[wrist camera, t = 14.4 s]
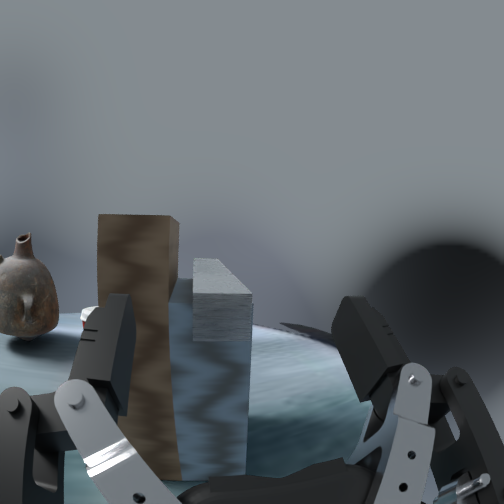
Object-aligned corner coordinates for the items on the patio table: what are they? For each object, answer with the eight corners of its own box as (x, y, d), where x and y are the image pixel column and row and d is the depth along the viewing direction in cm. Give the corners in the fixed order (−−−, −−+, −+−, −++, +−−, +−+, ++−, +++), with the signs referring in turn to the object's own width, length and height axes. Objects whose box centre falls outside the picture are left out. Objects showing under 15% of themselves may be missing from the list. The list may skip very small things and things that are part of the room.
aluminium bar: (192, 341, 17) (192, 292, 17) (193, 278, 42) (193, 258, 42) (250, 341, 18) (252, 293, 17) (217, 279, 43) (217, 258, 43)
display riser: (128, 476, 26) (98, 214, 25) (142, 414, 42) (132, 221, 40) (245, 478, 29) (257, 219, 27) (228, 415, 45) (234, 225, 43)
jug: (-16, 337, 53) (-24, 232, 52) (35, 324, 74) (30, 232, 73) (21, 364, 47) (8, 232, 46) (79, 342, 68) (74, 233, 66)
